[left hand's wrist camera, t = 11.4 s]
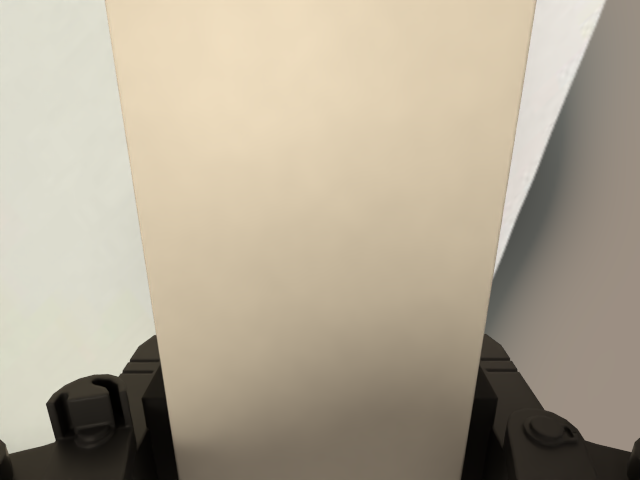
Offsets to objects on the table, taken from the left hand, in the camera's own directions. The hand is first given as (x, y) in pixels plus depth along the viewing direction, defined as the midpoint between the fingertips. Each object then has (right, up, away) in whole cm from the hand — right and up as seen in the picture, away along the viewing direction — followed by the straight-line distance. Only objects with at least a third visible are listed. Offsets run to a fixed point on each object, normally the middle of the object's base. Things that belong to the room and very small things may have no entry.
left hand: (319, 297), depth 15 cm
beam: (0, +26, -9) cm, 27 cm away
